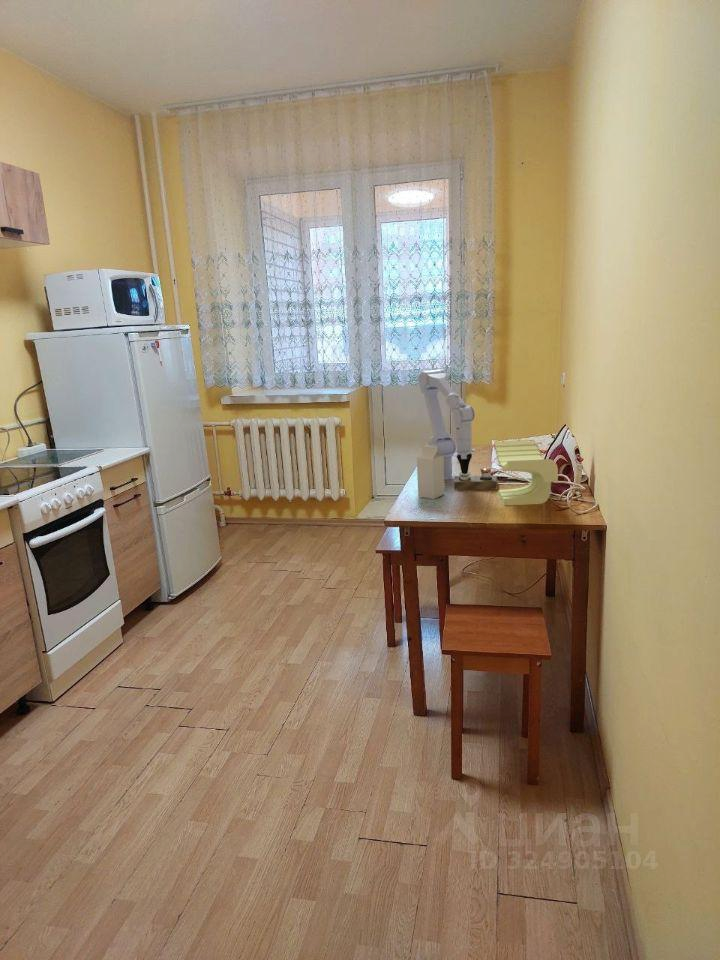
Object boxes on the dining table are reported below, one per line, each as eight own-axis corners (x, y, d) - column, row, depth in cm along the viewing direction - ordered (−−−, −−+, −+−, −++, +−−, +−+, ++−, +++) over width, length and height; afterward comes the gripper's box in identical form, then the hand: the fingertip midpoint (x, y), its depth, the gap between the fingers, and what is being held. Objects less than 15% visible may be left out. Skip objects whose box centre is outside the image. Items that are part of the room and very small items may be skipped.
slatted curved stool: (556, 511, 194) (558, 458, 190) (507, 513, 196) (507, 461, 191) (537, 485, 223) (538, 439, 218) (495, 487, 225) (494, 441, 220)
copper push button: (480, 481, 225) (480, 470, 224) (480, 478, 229) (480, 467, 228) (491, 481, 224) (491, 470, 223) (491, 478, 228) (491, 467, 227)
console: (454, 489, 226) (453, 481, 225) (454, 483, 233) (454, 476, 233) (496, 488, 223) (496, 481, 222) (496, 483, 230) (496, 475, 229)
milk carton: (433, 499, 215) (431, 448, 210) (418, 496, 220) (416, 446, 215) (444, 494, 220) (443, 444, 215) (429, 491, 225) (427, 443, 220)
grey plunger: (459, 485, 227) (459, 474, 226) (459, 482, 231) (459, 471, 230) (470, 484, 226) (469, 474, 225) (470, 482, 230) (470, 471, 229)
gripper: (474, 442, 216) (475, 477, 220) (474, 434, 230) (475, 468, 233) (455, 442, 218) (455, 478, 221) (456, 434, 231) (457, 468, 235)
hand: (464, 473), depth 227 cm, fingers closed, pressing on grey plunger
